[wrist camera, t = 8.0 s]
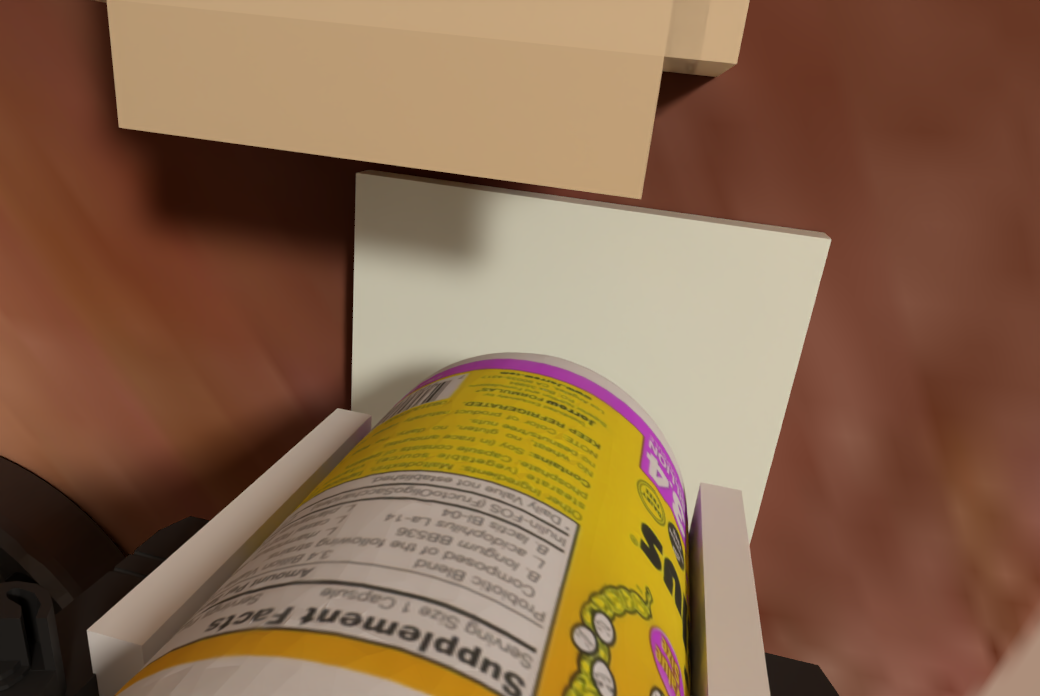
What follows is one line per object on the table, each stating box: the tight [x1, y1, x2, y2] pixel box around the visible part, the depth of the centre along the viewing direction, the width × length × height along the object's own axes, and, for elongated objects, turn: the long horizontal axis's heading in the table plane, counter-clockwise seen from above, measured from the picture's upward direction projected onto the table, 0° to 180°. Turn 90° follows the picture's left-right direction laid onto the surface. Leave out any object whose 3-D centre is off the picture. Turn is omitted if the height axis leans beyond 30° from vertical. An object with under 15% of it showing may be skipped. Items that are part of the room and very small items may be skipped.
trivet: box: [351, 170, 831, 545], centre depth 18 cm, size 11×11×1 cm
